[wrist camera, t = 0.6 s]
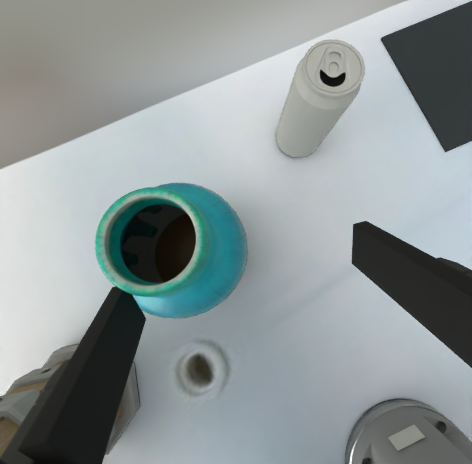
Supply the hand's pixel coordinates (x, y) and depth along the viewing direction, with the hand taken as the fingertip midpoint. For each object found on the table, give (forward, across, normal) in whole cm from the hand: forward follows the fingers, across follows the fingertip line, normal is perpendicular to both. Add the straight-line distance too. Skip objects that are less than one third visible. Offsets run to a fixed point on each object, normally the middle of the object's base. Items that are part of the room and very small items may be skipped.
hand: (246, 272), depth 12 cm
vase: (+16, +5, +7) cm, 18 cm away
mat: (+24, -41, -8) cm, 49 cm away
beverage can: (+22, -13, -4) cm, 26 cm away
